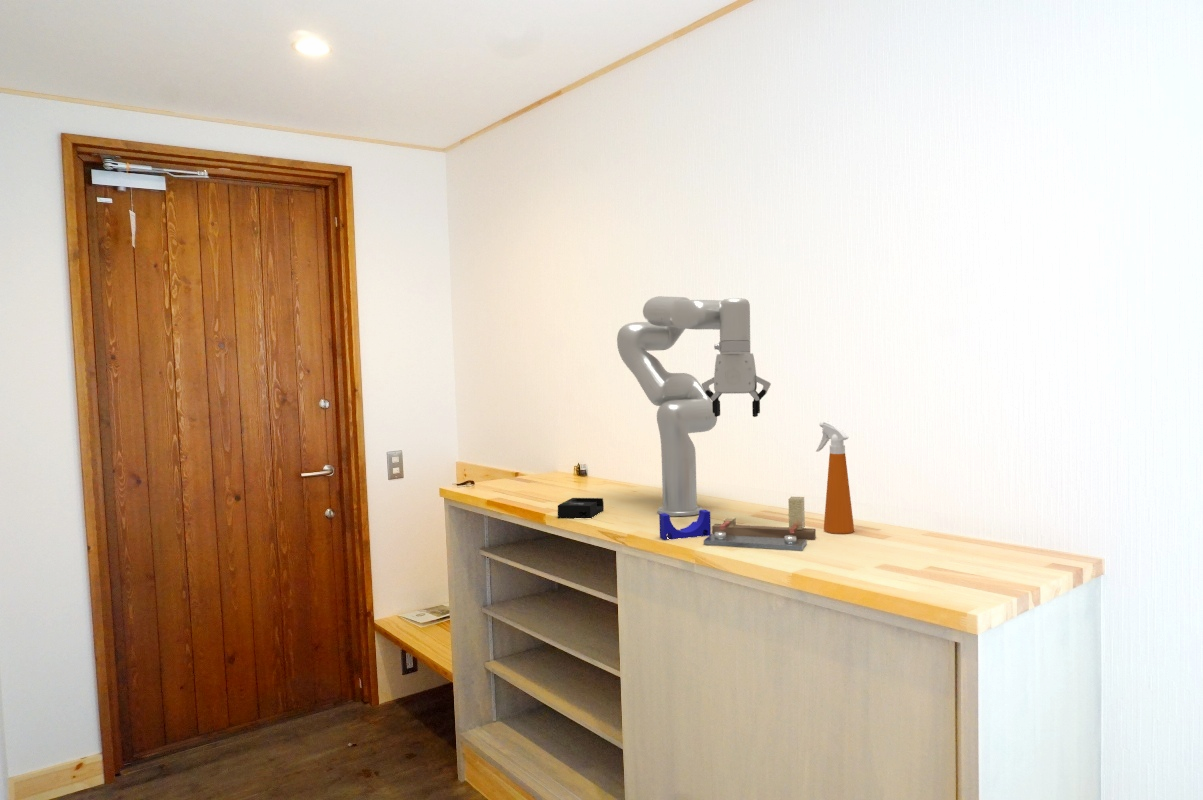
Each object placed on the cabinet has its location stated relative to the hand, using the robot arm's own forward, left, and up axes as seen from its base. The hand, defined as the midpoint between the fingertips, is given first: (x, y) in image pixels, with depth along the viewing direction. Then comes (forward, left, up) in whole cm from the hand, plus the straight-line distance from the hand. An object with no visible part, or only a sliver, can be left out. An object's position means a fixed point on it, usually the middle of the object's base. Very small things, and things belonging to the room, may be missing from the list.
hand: (736, 416), depth 197 cm
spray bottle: (-2, +23, -28) cm, 36 cm away
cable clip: (+14, -10, -28) cm, 33 cm away
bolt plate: (+19, +8, -28) cm, 34 cm away
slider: (+12, +16, -26) cm, 32 cm away
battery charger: (-6, -46, -29) cm, 55 cm away
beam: (+12, +8, -28) cm, 31 cm away
